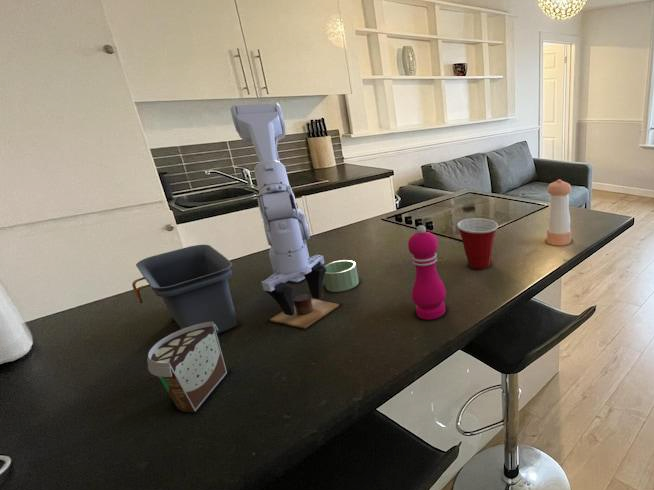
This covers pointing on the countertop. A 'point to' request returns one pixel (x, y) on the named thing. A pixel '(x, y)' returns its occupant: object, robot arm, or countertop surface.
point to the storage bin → (191, 285)
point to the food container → (188, 364)
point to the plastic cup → (478, 240)
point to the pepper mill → (426, 275)
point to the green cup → (341, 276)
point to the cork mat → (306, 318)
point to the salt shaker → (559, 213)
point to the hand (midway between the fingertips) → (303, 305)
